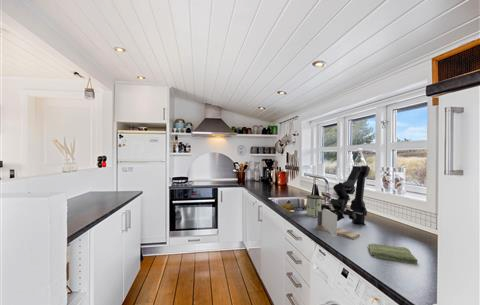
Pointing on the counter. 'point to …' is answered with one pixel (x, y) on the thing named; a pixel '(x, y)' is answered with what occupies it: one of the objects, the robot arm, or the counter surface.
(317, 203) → the glass jar
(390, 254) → the washcloth
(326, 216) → the door
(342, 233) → the door base
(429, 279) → the counter surface
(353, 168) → the robot arm
